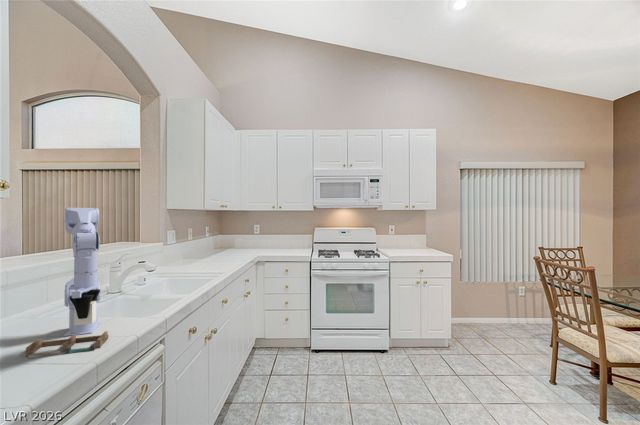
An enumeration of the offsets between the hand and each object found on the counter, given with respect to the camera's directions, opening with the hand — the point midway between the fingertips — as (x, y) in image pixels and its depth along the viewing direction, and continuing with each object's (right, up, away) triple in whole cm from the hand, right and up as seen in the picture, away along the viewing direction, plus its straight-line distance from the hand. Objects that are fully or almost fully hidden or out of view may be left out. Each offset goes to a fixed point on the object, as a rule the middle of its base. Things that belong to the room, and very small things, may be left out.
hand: (85, 316), depth 95 cm
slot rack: (-4, -9, -1) cm, 10 cm away
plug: (0, -2, 0) cm, 2 cm away
